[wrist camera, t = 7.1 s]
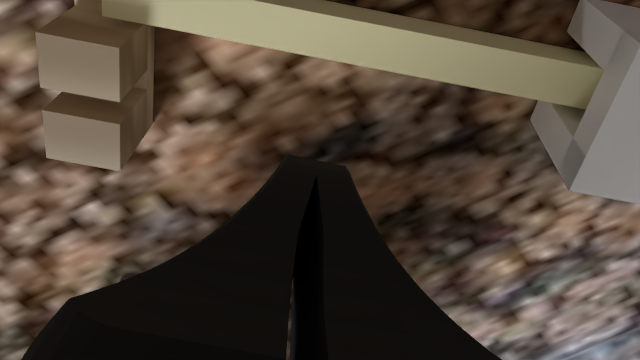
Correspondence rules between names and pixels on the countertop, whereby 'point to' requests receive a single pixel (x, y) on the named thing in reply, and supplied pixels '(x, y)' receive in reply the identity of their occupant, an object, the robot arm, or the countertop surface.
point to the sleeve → (600, 108)
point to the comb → (96, 85)
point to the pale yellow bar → (381, 43)
